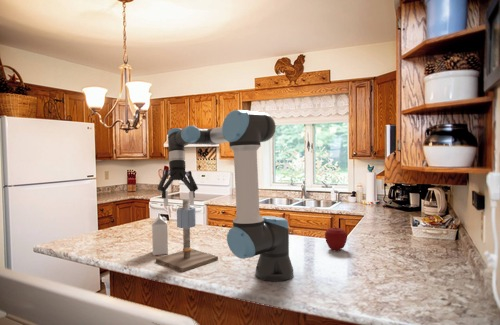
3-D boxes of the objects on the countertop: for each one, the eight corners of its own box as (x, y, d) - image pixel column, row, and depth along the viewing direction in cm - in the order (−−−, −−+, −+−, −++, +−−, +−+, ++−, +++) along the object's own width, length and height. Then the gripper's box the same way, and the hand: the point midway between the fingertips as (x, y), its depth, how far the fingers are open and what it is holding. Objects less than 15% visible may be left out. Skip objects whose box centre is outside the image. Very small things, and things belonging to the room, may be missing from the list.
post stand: (218, 259, 148) (217, 199, 147) (182, 271, 133) (181, 204, 132) (190, 251, 161) (189, 195, 161) (155, 261, 146) (154, 200, 146)
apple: (348, 253, 155) (348, 229, 154) (325, 252, 157) (325, 228, 157) (346, 247, 165) (346, 224, 165) (324, 246, 168) (324, 224, 167)
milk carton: (152, 255, 155) (152, 216, 155) (153, 251, 162) (152, 214, 162) (167, 254, 157) (167, 215, 157) (167, 250, 164) (166, 213, 164)
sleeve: (198, 225, 147) (198, 208, 147) (184, 228, 141) (184, 210, 141) (188, 223, 152) (187, 206, 152) (173, 226, 146) (173, 208, 146)
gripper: (194, 164, 165) (197, 205, 161) (148, 160, 148) (150, 207, 144) (203, 161, 159) (206, 203, 155) (156, 157, 142) (158, 205, 138)
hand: (179, 205), depth 149 cm, fingers open, 13 cm apart
